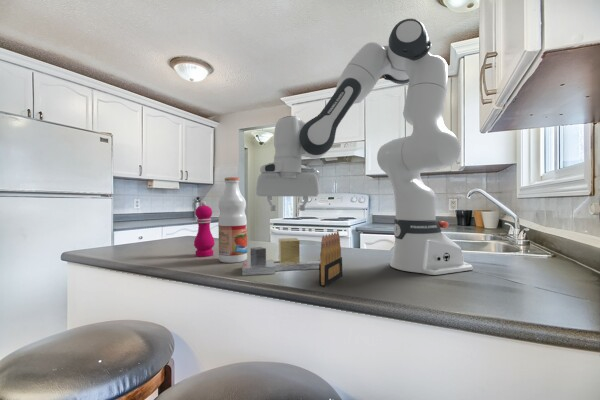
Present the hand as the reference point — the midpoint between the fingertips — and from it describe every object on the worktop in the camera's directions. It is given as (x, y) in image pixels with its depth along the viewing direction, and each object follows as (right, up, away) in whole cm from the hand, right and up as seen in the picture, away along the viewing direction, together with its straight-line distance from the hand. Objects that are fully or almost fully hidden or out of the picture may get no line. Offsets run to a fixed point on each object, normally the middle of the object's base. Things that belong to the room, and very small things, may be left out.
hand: (287, 210), depth 95 cm
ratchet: (+1, -17, -8) cm, 19 cm away
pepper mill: (-31, -17, +14) cm, 38 cm away
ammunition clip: (+12, -17, -20) cm, 29 cm away
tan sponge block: (0, -17, 0) cm, 17 cm away
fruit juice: (-19, -17, +5) cm, 26 cm away
